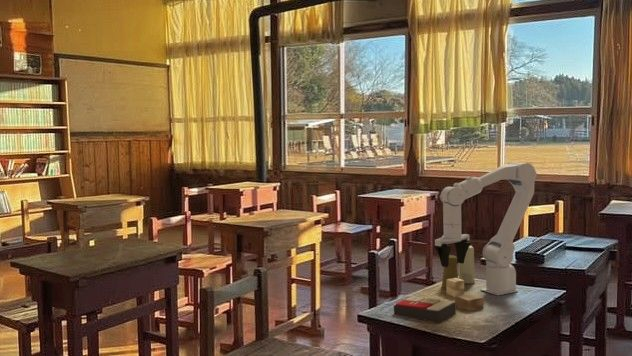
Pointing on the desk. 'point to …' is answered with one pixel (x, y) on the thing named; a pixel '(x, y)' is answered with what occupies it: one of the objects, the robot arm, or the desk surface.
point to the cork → (450, 270)
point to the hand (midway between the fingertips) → (452, 264)
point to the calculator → (425, 309)
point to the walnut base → (469, 302)
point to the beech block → (455, 286)
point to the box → (467, 267)
